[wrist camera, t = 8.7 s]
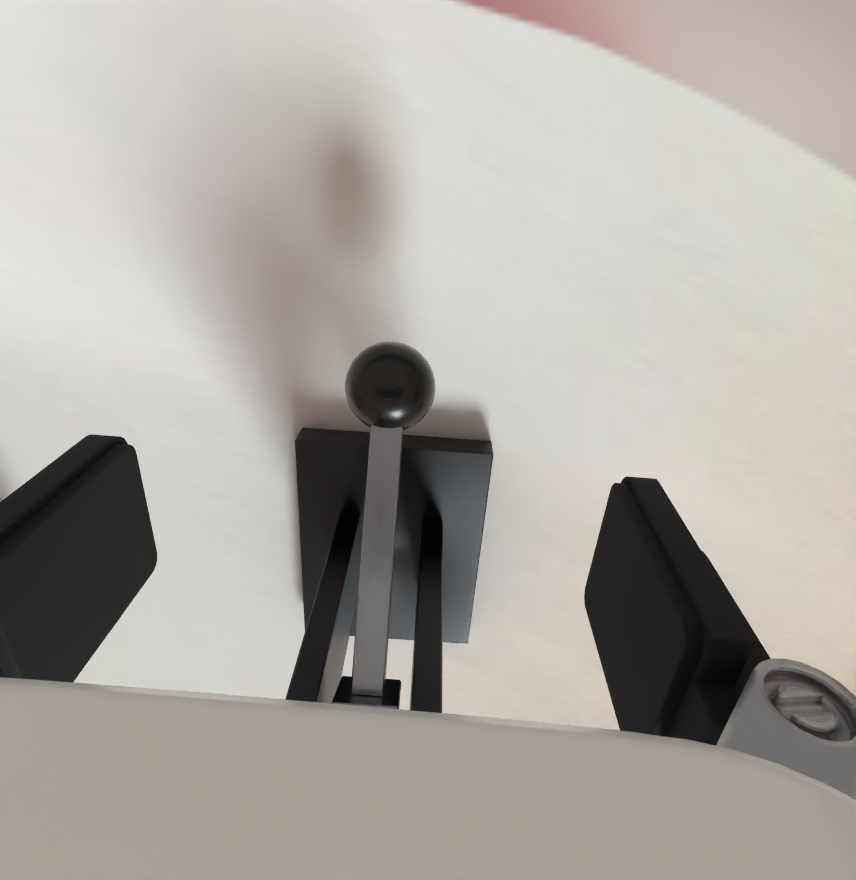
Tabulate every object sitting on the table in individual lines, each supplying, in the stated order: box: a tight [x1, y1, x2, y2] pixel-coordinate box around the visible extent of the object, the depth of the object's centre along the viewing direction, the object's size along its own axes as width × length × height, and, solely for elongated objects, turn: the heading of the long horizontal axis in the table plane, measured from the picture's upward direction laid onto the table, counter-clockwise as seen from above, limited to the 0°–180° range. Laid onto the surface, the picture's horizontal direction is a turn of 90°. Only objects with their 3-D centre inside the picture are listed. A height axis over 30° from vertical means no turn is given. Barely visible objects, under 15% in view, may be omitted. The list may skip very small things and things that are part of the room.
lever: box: [331, 342, 435, 709], centre depth 19 cm, size 15×3×3 cm, turn 176°
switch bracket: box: [285, 428, 493, 713], centre depth 23 cm, size 12×9×13 cm
